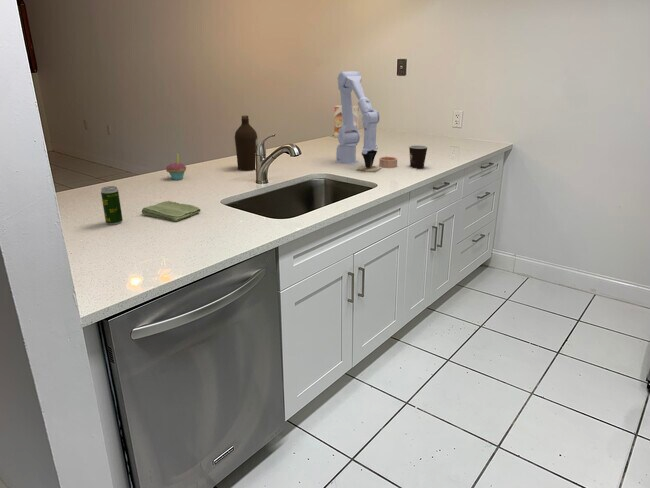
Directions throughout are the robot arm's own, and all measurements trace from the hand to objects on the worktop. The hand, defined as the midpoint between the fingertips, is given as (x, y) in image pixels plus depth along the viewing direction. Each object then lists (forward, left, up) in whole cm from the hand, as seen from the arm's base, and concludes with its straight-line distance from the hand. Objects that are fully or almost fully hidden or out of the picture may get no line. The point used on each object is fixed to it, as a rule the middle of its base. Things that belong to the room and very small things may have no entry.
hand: (368, 166), depth 243 cm
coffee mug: (+19, +17, -2) cm, 26 cm away
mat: (0, 0, -2) cm, 2 cm away
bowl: (+6, +11, -2) cm, 13 cm away
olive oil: (-54, -22, -2) cm, 58 cm away
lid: (0, 0, -1) cm, 1 cm away
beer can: (-51, -109, -2) cm, 120 cm away
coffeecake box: (-46, +83, -2) cm, 95 cm away
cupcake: (-72, -52, -2) cm, 89 cm away
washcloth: (-40, -93, -2) cm, 101 cm away
